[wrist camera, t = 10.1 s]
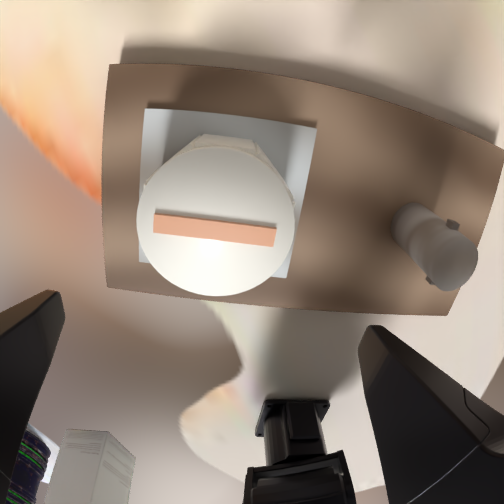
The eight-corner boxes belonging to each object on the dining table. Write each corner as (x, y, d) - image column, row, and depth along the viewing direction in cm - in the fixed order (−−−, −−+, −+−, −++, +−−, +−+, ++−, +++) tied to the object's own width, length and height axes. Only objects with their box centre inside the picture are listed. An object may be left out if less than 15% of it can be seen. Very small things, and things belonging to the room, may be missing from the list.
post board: (438, 305, 24) (479, 359, 18) (113, 275, 21) (76, 341, 15) (493, 146, 18) (559, 172, 11) (118, 66, 15) (59, 54, 9)
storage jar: (14, 444, 36) (-9, 507, 23) (-9, 414, 32) (-40, 484, 18) (59, 461, 37) (39, 532, 24) (39, 434, 33) (11, 514, 19)
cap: (291, 146, 16) (310, 163, 12) (269, 258, 19) (278, 305, 15) (165, 130, 15) (138, 141, 11) (157, 244, 18) (135, 288, 14)
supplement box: (65, 427, 31) (39, 507, 20) (109, 430, 31) (87, 520, 19) (94, 455, 34) (77, 528, 23) (137, 458, 34) (124, 538, 23)
